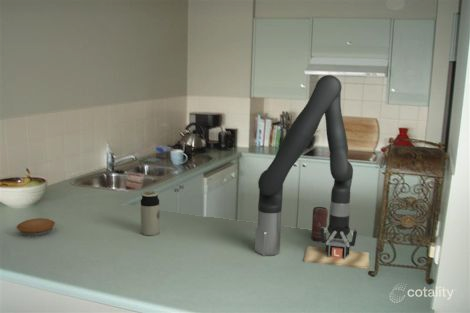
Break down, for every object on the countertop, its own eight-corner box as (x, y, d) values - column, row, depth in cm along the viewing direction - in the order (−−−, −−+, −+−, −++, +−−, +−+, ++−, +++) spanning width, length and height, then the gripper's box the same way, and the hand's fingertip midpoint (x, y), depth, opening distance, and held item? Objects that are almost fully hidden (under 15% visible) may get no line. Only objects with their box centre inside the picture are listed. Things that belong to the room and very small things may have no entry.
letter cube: (331, 257, 185) (332, 247, 185) (332, 253, 189) (332, 243, 189) (342, 258, 184) (342, 248, 184) (342, 254, 188) (343, 244, 188)
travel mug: (137, 234, 210) (136, 194, 207) (147, 228, 217) (147, 190, 214) (153, 236, 207) (152, 196, 204) (163, 231, 214) (162, 192, 211)
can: (326, 242, 204) (328, 210, 201) (311, 241, 205) (312, 209, 202) (326, 237, 210) (328, 206, 207) (311, 236, 211) (313, 205, 208)
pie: (55, 236, 206) (55, 225, 205) (16, 240, 200) (15, 229, 199) (55, 225, 220) (54, 214, 219) (17, 229, 215) (17, 218, 214)
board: (303, 261, 184) (304, 259, 183) (307, 248, 197) (307, 246, 197) (369, 269, 178) (369, 266, 178) (368, 255, 191) (368, 252, 191)
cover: (328, 257, 185) (328, 244, 184) (329, 252, 191) (329, 238, 190) (345, 259, 184) (346, 245, 183) (345, 253, 189) (346, 240, 188)
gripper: (319, 214, 182) (317, 255, 185) (359, 217, 179) (356, 260, 182) (321, 208, 189) (319, 248, 192) (359, 211, 186) (356, 252, 189)
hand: (337, 254), depth 187 cm, fingers closed on cover, 6 cm apart
